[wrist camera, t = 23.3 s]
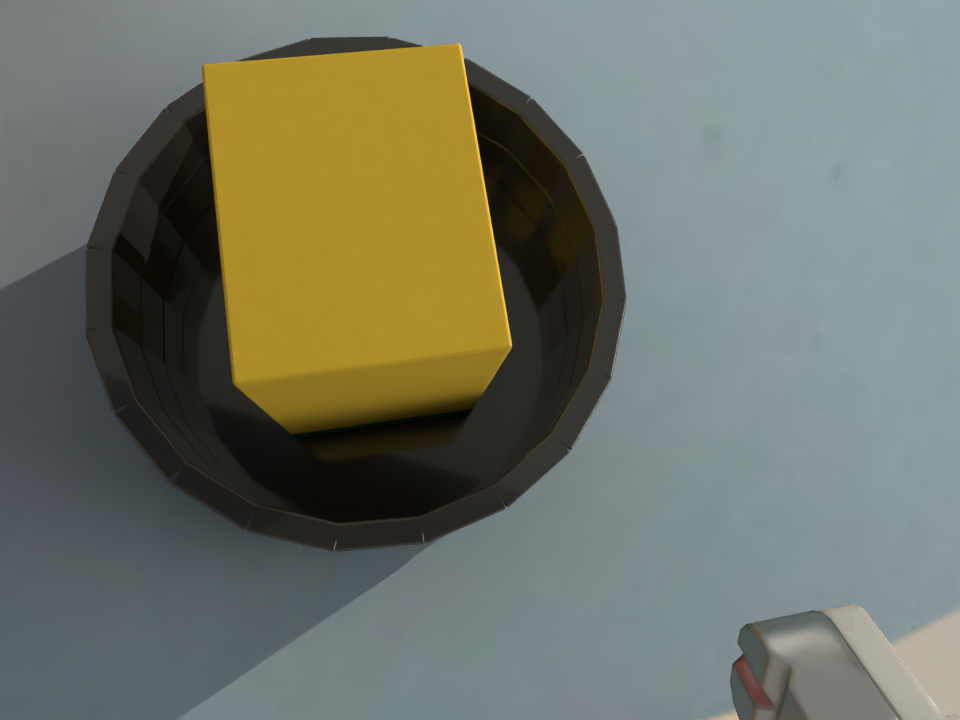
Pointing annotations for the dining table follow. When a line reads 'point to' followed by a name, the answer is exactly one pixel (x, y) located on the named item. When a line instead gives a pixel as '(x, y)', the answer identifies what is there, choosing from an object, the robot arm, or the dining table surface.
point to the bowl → (375, 450)
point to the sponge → (354, 237)
